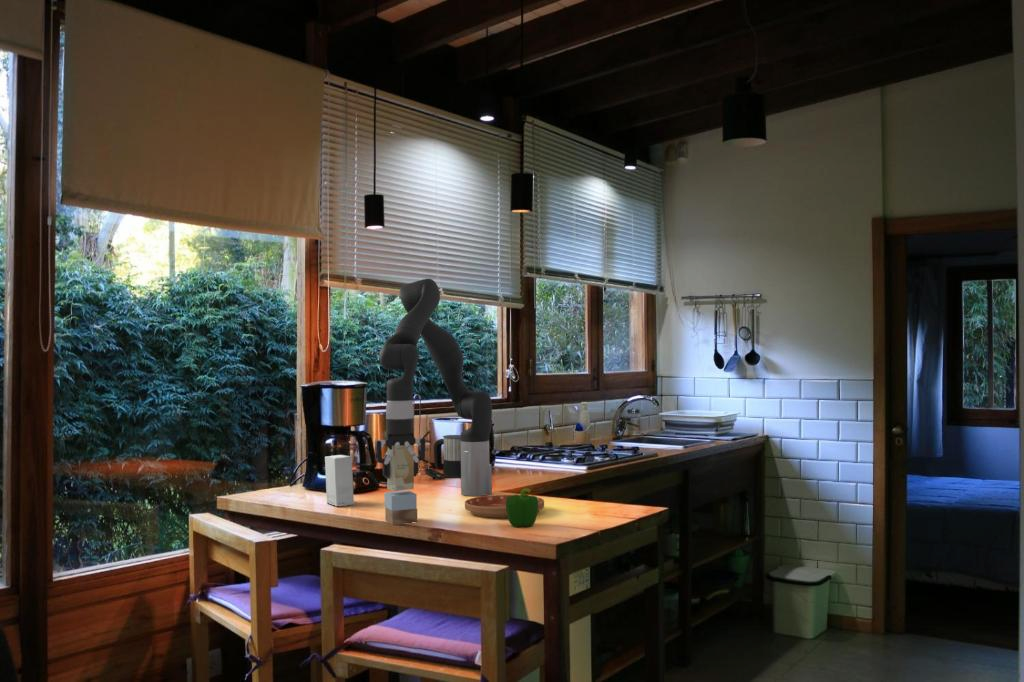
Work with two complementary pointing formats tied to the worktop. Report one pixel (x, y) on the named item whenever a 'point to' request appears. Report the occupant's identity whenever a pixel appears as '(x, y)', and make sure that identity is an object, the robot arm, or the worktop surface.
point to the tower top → (400, 500)
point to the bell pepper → (522, 509)
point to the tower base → (400, 516)
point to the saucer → (492, 506)
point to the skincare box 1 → (339, 480)
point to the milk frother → (447, 458)
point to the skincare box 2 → (401, 469)
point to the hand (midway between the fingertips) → (400, 476)
